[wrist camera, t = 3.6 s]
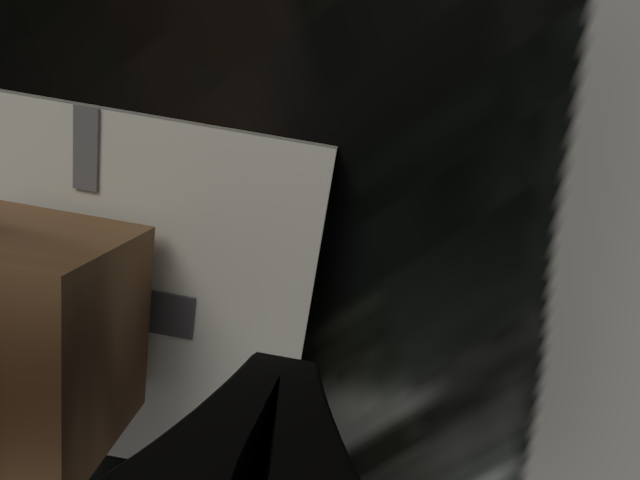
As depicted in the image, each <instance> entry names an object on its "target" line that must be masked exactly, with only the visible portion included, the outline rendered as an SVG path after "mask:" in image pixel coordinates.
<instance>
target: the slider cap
mask: <svg viewBox="0 0 640 480" xmlns="http://www.w3.org/2000/svg"><path fill="white" fill-rule="evenodd" d="M154 240H155V227H154V226H148V225H142V224H136V223H131V222H125V221H119V220H113V219H107V218H102V217H96V216H90V215H84V214H79V213H73V212H67V211H61V210H56V209H50V208H44V207H38V206H33V205H27V204H21V203H15V202H10V201H4V200H0V480H89V478H90V477H91V476H92V474H93V473H94V472H95V470H96V469H97V467H98V466H99V465H100V463H101V462H102V460H103V459H104V458H105V456H106V455H107V454H108V452H109V451H110V449H111V448H112V447H113V445H114V444H115V443H116V441H117V440H118V438H119V437H120V436H121V434H122V433H123V432H124V430H125V429H126V427H127V426H128V425H129V423H130V422H131V421H132V419H133V418H134V416H135V415H136V414H137V412H138V411H139V410H140V408H141V407H142V405H143V404H144V403H145V390H146V373H147V356H148V340H149V323H150V306H151V290H152V273H153V256H154Z"/></svg>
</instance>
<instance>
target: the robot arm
mask: <svg viewBox="0 0 640 480" xmlns="http://www.w3.org/2000/svg"><path fill="white" fill-rule="evenodd" d="M96 480H360V478H359V476H358V473H357V471H356V469H355V467H354V465H353V463H352V461H351V459H350V457H349V455H348V452H347V450H346V448H345V446H344V443H343V441H342V439H341V436H340V434H339V431H338V429H337V426H336V424H335V421H334V418H333V416H332V413H331V410H330V408H329V405H328V402H327V398H326V395H325V392H324V388H323V385H322V380H321V375H320V368H319V367H318V365H317V364H316V362H311V361H305V360H300V359H294V358H288V357H283V356H277V355H272V354H266V353H260V352H256V353H255V354H253V355H252V356H250V357H249V359H248V360H247V361H246V362H245V363H244V364H243V365H242V366H241V367H240V368H239V369H238V370H237V371H236V372H235V373H234V374H233V375H232V376H231V377H230V378H229V379H228V380H227V381H226V382H225V383H224V384H223V385H221V386H220V387H219V388H218V389H217V390H216V391H215V392H214V393H212V394H211V395H210V396H209V397H208V398H207V399H206V400H205V401H203V402H202V403H201V404H200V405H199V406H198V407H196V408H195V409H194V410H193V411H192V412H190V413H189V414H188V415H187V416H185V417H184V418H183V419H181V420H180V421H179V422H178V423H176V424H175V425H174V426H172V427H171V428H170V429H169V430H167V431H166V432H165V433H163V434H162V435H161V436H160V437H158V438H157V439H155V440H154V441H153V442H151V443H150V444H149V445H147V446H146V447H144V448H143V449H141V450H140V451H139V452H137V453H136V454H134V455H133V456H131V457H130V458H128V459H127V460H125V461H124V462H122V463H121V464H119V465H118V466H116V467H115V468H113V469H111V470H110V471H108V472H107V473H105V474H104V475H102V476H101V477H99V478H97V479H96Z"/></svg>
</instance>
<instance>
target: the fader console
mask: <svg viewBox="0 0 640 480" xmlns="http://www.w3.org/2000/svg"><path fill="white" fill-rule="evenodd" d="M337 148H338V146H332V145H327V144H321V143H315V142H309V141H303V140H297V139H291V138H285V137H280V136H274V135H268V134H262V133H256V132H250V131H244V130H239V129H233V128H227V127H221V126H215V125H209V124H203V123H197V122H192V121H186V120H180V119H174V118H168V117H162V116H156V115H150V114H145V113H139V112H133V111H127V110H121V109H115V108H109V107H103V106H98V105H92V104H86V103H80V102H74V101H68V100H62V99H56V98H51V97H45V96H39V95H33V94H27V93H21V92H15V91H10V90H4V89H0V200H4V201H10V202H15V203H21V204H27V205H33V206H38V207H44V208H50V209H56V210H61V211H67V212H73V213H79V214H84V215H90V216H96V217H102V218H107V219H113V220H119V221H125V222H131V223H136V224H142V225H148V226H154V227H155V240H154V256H153V273H152V290H151V306H150V323H149V340H148V356H147V373H146V390H145V403H144V404H143V405H142V407H141V408H140V410H139V411H138V412H137V414H136V415H135V416H134V418H133V419H132V421H131V422H130V423H129V425H128V426H127V427H126V429H125V430H124V432H123V433H122V434H121V436H120V437H119V438H118V440H117V441H116V443H115V444H114V445H113V447H112V448H111V449H110V451H109V452H108V454H107V455H109V456H115V457H121V458H126V459H128V458H130V457H131V456H133V455H134V454H136V453H137V452H139V451H140V450H141V449H143V448H144V447H146V446H147V445H149V444H150V443H151V442H153V441H154V440H155V439H157V438H158V437H160V436H161V435H162V434H163V433H165V432H166V431H167V430H169V429H170V428H171V427H172V426H174V425H175V424H176V423H178V422H179V421H180V420H181V419H183V418H184V417H185V416H187V415H188V414H189V413H190V412H192V411H193V410H194V409H195V408H196V407H198V406H199V405H200V404H201V403H202V402H203V401H205V400H206V399H207V398H208V397H209V396H210V395H211V394H212V393H214V392H215V391H216V390H217V389H218V388H219V387H220V386H221V385H223V384H224V383H225V382H226V381H227V380H228V379H229V378H230V377H231V376H232V375H233V374H234V373H235V372H236V371H237V370H238V369H239V368H240V367H241V366H242V365H243V364H244V363H245V362H246V361H247V360H248V359H249V357H250V356H252V355H253V354H255V353H256V352H260V353H266V354H272V355H277V356H283V357H288V358H294V359H300V360H301V358H302V353H303V347H304V341H305V335H306V329H307V323H308V317H309V312H310V306H311V300H312V294H313V288H314V282H315V276H316V271H317V265H318V259H319V253H320V247H321V241H322V235H323V230H324V224H325V218H326V212H327V206H328V200H329V194H330V189H331V183H332V177H333V171H334V165H335V159H336V153H337Z"/></svg>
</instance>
